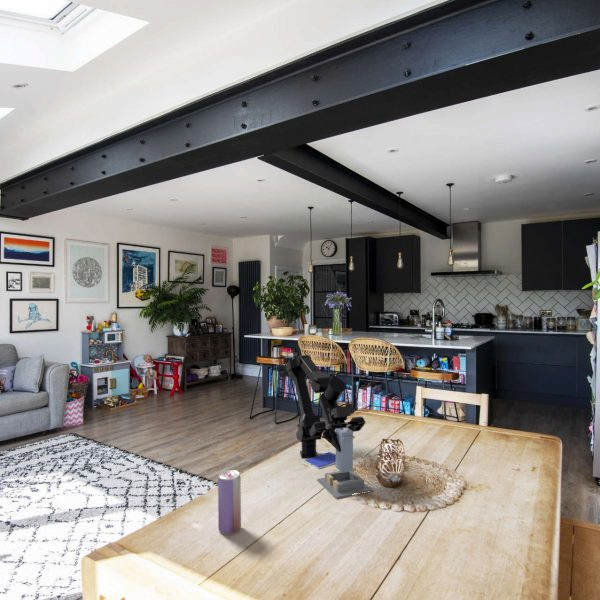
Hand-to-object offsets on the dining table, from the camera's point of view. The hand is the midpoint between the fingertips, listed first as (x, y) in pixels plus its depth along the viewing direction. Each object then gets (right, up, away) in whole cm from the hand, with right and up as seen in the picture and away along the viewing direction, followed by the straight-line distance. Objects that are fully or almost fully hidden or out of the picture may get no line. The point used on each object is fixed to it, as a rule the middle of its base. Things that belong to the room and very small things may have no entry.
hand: (346, 450), depth 141 cm
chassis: (0, -12, +1) cm, 12 cm away
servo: (0, -7, +1) cm, 7 cm away
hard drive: (-6, -12, +22) cm, 26 cm away
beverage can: (-34, -13, -24) cm, 44 cm away
